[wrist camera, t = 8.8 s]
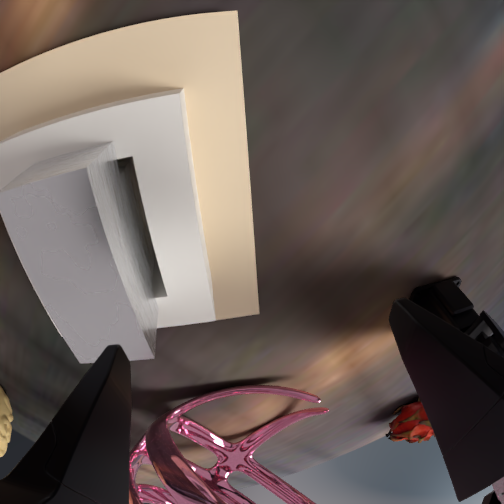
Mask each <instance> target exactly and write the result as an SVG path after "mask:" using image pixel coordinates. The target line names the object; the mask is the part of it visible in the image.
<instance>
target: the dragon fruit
mask: <svg viewBox="0 0 504 504" xmlns="http://www.w3.org/2000/svg"><path fill="white" fill-rule="evenodd" d="M401 409H402V411H401V414H400V415H399V416H397V418H396V419H394V420H393V421H392V423H391V422H390V423H389V426H390V428H391V429H390V431H389V433H388V434H386V437H388V436H389V435H390V437H389V439H390V440H392V441H401V440H404V439H406V441H407V442H409V443H413V442H416V441H418V443H421V442H422V440H424V441H428V440H429V439H430V437H431V436H432V435H434V437H435V434H434V432H433V429H432V427H431V424H430V422H429V419H428V417H427V414H426V412H425V410H424V407H423V405H422V403H421V400H420V398H418V402H415V403H412V404H409V405H403V406H401V407H399V408H398V409H397V410H396V411H395V412H394V413H393V414H396V413H398V412H399V411H400V410H401ZM392 431H393V433H391V432H392ZM408 439H409V440H408Z"/></svg>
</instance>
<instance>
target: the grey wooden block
mask: <svg viewBox="0 0 504 504" xmlns="http://www.w3.org/2000/svg"><path fill="white" fill-rule="evenodd" d="M0 211H1V213H2V216H3V219H4V221H5V224H6V226H7V229H8V231H9V234H10V236H11V238H12V241H13V243H14V246H15V248H16V250H17V252H18V255H19V257H20V259H21V261H22V263H23V265H24V267H25V269H26V272H27V274H28V276H29V278H30V280H31V282H32V284H33V286H34V287H35V289H36V291H37V293H38V295H39V297H40V299H41V301H42V302H43V304H44V306H45V308H46V310H47V311H48V313H49V315H50V317H51V318H52V320H53V322H54V323H55V325H56V327H57V328H58V330H59V332H60V333H61V335H62V336H63V338H64V340H65V341H66V343H67V344H68V346H69V347H70V349H71V350H72V352H73V353H74V355H75V356H76V358H77V359H78V361H79V362H80V363H94V362H95V361H96V360H97V358H98V357H99V356H100V355H101V353H102V352H103V351H104V349H105V348H106V347H107V346H108V345H113V344H119V345H121V346H122V348H123V350H124V352H125V354H126V355H127V357H128V359H129V361H132V360H144V359H155V346H156V332H157V319H158V305H157V302H156V299H155V296H154V293H153V290H152V287H151V285H152V279H153V272H154V266H155V259H156V254H155V250H154V247H153V243H152V239H151V235H150V231H149V227H148V223H147V219H146V215H145V211H144V207H143V202H142V198H141V194H140V189H139V185H138V180H137V175H136V171H135V166H134V161H133V156H131V157H126V158H122V159H117V157H116V152H115V147H114V142H108V143H104V144H100V145H96V146H92V147H88V148H84V149H81V150H77V151H73V152H70V153H66V154H63V155H59V156H56V157H52V158H49V159H46V160H43V161H39V162H36V163H34V164H33V165H31V166H30V167H29V168H27V169H26V170H25V171H23V172H22V173H21V174H19V175H18V176H17V177H16V178H14V179H13V180H12V181H11V182H9V183H8V184H7V185H6V186H5V187H3V188H2V189H1V190H0Z"/></svg>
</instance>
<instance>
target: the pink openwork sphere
mask: <svg viewBox="0 0 504 504" xmlns="http://www.w3.org/2000/svg"><path fill="white" fill-rule="evenodd" d="M242 394H276V395H283V396H289V397H294V398H298V399H301V400H305V401H309V402H313V403H319V402H320V401H321V399H320V398H319V397H318V396H316V395H314V394H311V393H308V392H305V391H301V390H297V389H293V388H288V387H281V386H272V385H245V386H236V387H230V388H224V389H220V390H216V391H212V392H209V393H206V394H203V395H200V396H198V397H195V398H193V399H191V400H188V401H186V402H184V403H182V404H181V405H179V406H177V407H175V408H173V409H172V410H170V411H168V412H167V413H165V414H163V415H162V416H160V417H159V418H157V419H156V420H155V421H154V422H153V423H152V424H151V425H150V426H149V428H148V429H147V431H146V433H145V434H144V435H143V436H142V438H141V439H140V440H139V441H138V443H137V444H136V445H135V446H134V447H133V448H132V450H131V451H130V452H129V504H143V503H142V502H145V503H152V504H227V503H228V504H256V503H254V502H253V501H252V500H250V499H249V498H248V497H246V496H244V495H243V494H242V493H240V492H239V491H237V490H236V489H235V488H233V487H232V486H231V485H230V484H229V483H228V481H227V479H228V476H229V475H230V474H231V473H232V472H234V471H240V472H243V473H245V474H246V475H248V476H249V477H251V478H252V479H254V480H255V481H256V482H258V483H259V484H261V485H262V486H264V487H265V488H266V489H268V490H269V491H271V492H272V493H273V494H275V495H276V496H277V497H279V498H280V499H282V500H283V501H284V502H286V503H287V504H316V503H314V502H313V501H311V500H310V499H309V498H307V497H306V496H305V495H303V494H302V493H300V492H299V491H298V490H296V489H295V488H293V487H292V486H291V485H289V484H288V483H286V482H285V481H283V480H282V479H281V478H279V477H278V476H277V475H275V474H274V473H272V472H271V471H269V470H268V469H267V468H265V467H264V466H262V465H261V464H259V463H258V462H257V461H256V460H255V459H254V458H253V456H252V454H253V452H254V451H255V450H256V449H257V448H258V447H259V446H260V445H261V444H263V443H264V442H265V441H267V440H268V439H269V438H271V437H272V436H273V435H275V434H276V433H278V432H279V431H281V430H283V429H284V428H286V427H288V426H289V425H291V424H293V423H295V422H297V421H300V420H302V419H305V418H308V417H311V416H315V415H321V414H325V413H327V412H328V411H329V409H328V408H324V407H318V408H309V409H304V410H300V411H296V412H293V413H290V414H287V415H284V416H282V417H280V418H277V419H275V420H273V421H271V422H269V423H267V424H266V425H264V426H262V427H260V428H259V429H257V430H256V431H254V432H253V433H251V434H250V435H248V436H247V437H246V438H244V439H243V440H241V441H239V442H237V443H231V442H228V441H226V440H224V439H223V438H221V437H220V436H218V435H216V434H215V433H213V432H212V431H210V430H208V429H207V428H205V427H203V426H202V425H200V424H198V423H196V422H195V421H193V420H191V419H189V418H186V417H184V416H182V414H184V413H185V412H187V411H189V410H191V409H193V408H195V407H197V406H199V405H202V404H204V403H207V402H210V401H213V400H216V399H220V398H224V397H229V396H235V395H242ZM169 430H170V431H173V432H175V433H178V434H180V435H182V436H184V437H187V438H188V439H190V440H192V441H194V442H196V443H198V444H200V445H201V446H203V447H205V448H206V449H208V450H210V451H211V452H213V453H214V454H215V455H216V456H217V458H218V461H217V463H216V464H215V465H214V466H213V467H211V468H208V469H206V468H202V467H200V466H198V465H196V464H195V463H193V462H191V461H189V460H187V459H185V458H184V457H183V455H182V454H181V452H180V451H179V449H178V448H177V446H176V444H175V443H174V441H173V439H172V437H171V435H170V433H169ZM142 464H150V465H153V467H154V469H155V471H156V473H157V475H158V477H159V478H160V480H161V481H162V483H163V485H164V486H165V487H166V489H167V490H166V489H163V488H160V487H157V486H153V485H148V484H137V483H135V478H136V474H137V471H138V469H139V467H140V466H141V465H142ZM224 501H225V502H226V503H225V502H224Z"/></svg>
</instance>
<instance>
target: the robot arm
mask: <svg viewBox="0 0 504 504" xmlns="http://www.w3.org/2000/svg"><path fill="white" fill-rule="evenodd" d="M460 284H461V279H460V278H459V277H456V278H452V279H449V280H445V281H441V282H438V283H434V284H430V285H426V286H422V287H418V288H416V289H415V290H414V291H413V292H412V295H411V298H410V300H409V299H407V298H400V299H396V300H395V301H394V302H393V305H392V308H391V312H390V316H389V323H390V326H391V329H392V332H393V334H394V337H395V340H396V343H397V346H398V349H399V352H400V355H401V357H402V360H403V362H404V364H405V367H406V369H407V371H408V373H409V375H410V378H411V380H412V382H413V384H414V387H415V389H416V391H417V393H418V396H419V398H420V400H421V403H422V405H423V407H424V410H425V412H426V414H427V417H428V419H429V422H430V424H431V427H432V429H433V432H434V434H435V437H436V439H437V442H438V445H439V447H440V450H441V452H442V455H443V458H444V461H445V464H446V466H447V469H448V472H449V475H450V478H451V480H452V484H453V487H454V490H455V493H456V496H457V499H458V501H459V502H461V501H462V500H464V499H467V498H468V497H470V496H472V495H474V494H476V493H478V492H479V491H481V490H483V489H485V488H486V487H488V486H490V485H491V484H492V486H493V488H494V490H493V491H492V492H491V493H489V494H488V495H486V496H485V497H484V499H483V502H482V504H504V332H503V330H502V329H501V328H500V327H499V325H498V324H497V323H496V322H495V321H494V320H493V319H492V318H491V317H490V316H489V315H488V314H487V313H486V312H485V311H484V310H483V311H482V312H481V314H480V316H479V315H478V314H477V313H476V312H475V310H474V309H473V308H474V306H473V304H472V303H471V301H470V300H469V299H468V298H467V297H466V296H465V294H464V293H463V292H462V291H461V290H460V289H459V286H460ZM492 332H493V333H494V334H493V335H492V336H489V335H490V334H491V333H492ZM131 409H132V403H131V371H130V361H129V359H128V357H127V355H126V354H125V352H124V350H123V348H122V346H121V345H119V344H113V345H108V346H107V347H106V348H105V349H104V351H103V352H102V353H101V355H100V356H99V357H98V358H97V360H96V361H95V362H94V364H93V365H92V366H91V368H90V369H89V370H88V372H87V373H86V374H85V376H84V377H83V378H82V380H81V381H80V382H79V384H78V385H77V386H76V388H75V389H74V390H73V392H72V393H71V394H70V396H69V397H68V398H67V400H66V401H65V403H64V404H63V405H62V407H61V408H60V410H59V411H58V412H57V414H56V415H55V417H54V418H53V419H52V422H50V423H49V425H48V426H47V428H46V429H45V431H44V432H43V433H42V435H41V436H40V437H39V439H38V440H37V441H36V443H35V444H34V445H33V446H32V448H31V449H30V450H29V451H28V452H27V454H26V455H25V456H24V457H23V458H22V460H21V461H20V462H19V463H18V464H17V465H16V467H15V468H14V469H13V470H12V471H11V472H10V473H9V474H8V475H7V476H6V477H5V478H3V479H1V480H0V504H129V451H130V427H131Z"/></svg>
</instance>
